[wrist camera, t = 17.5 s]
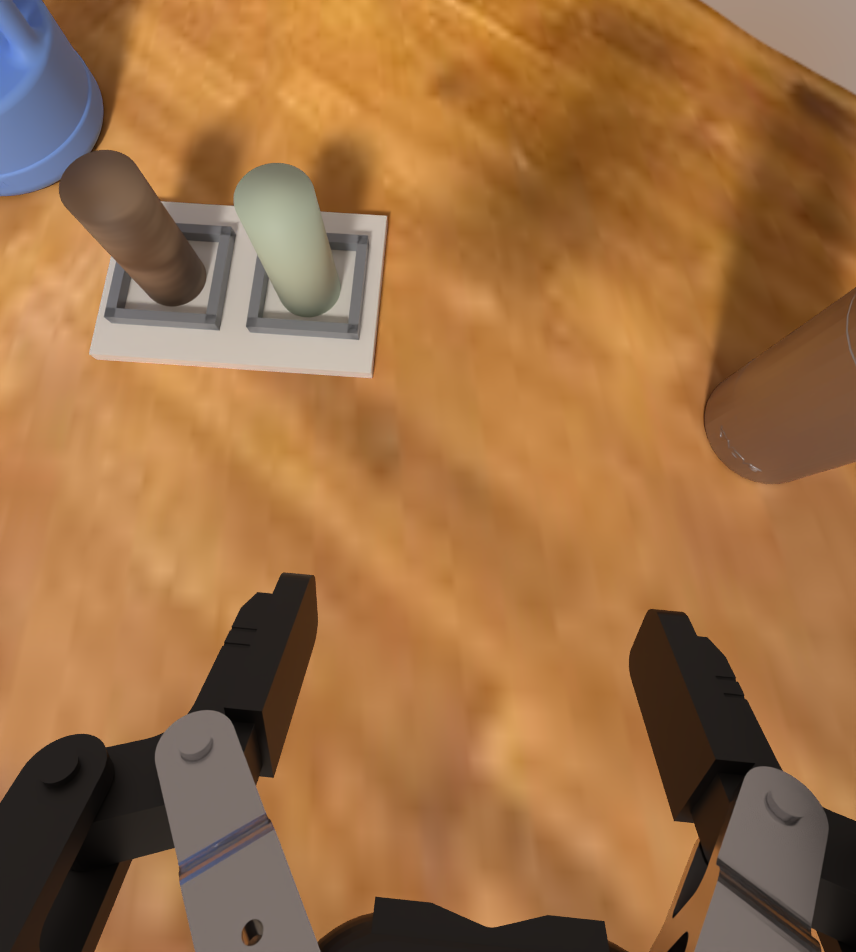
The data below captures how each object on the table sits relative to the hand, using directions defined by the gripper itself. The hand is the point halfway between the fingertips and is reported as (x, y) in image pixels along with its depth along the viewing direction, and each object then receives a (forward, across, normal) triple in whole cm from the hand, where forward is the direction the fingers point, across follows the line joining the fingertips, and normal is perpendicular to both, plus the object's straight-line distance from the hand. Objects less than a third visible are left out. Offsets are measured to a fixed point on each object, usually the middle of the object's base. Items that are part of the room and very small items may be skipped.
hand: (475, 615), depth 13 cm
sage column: (+34, +13, +1) cm, 36 cm away
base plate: (+35, +18, +2) cm, 39 cm away
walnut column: (+34, +24, +1) cm, 41 cm away
